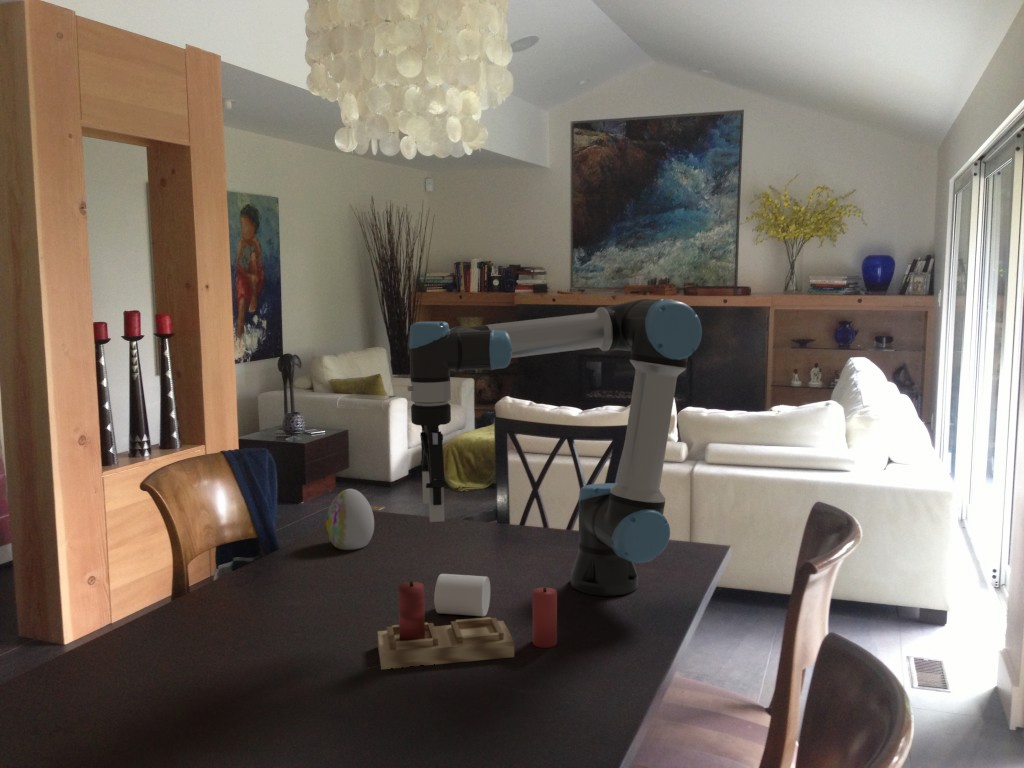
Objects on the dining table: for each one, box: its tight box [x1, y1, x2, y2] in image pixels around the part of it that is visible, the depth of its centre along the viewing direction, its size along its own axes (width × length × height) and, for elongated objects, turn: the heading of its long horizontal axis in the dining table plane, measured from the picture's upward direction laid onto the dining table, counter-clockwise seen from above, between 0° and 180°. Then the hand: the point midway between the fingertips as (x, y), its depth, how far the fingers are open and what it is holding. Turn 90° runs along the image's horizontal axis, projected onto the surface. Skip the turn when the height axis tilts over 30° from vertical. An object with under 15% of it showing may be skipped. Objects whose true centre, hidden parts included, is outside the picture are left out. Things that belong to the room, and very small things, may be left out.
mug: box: [433, 573, 491, 618], centre depth 181 cm, size 12×10×8 cm
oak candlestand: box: [377, 580, 515, 670], centre depth 160 cm, size 24×10×14 cm, turn 102°
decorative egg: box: [325, 488, 375, 551], centre depth 225 cm, size 12×12×15 cm
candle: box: [532, 586, 558, 649], centre depth 164 cm, size 5×5×11 cm
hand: (433, 511), depth 168 cm, fingers open, 13 cm apart
